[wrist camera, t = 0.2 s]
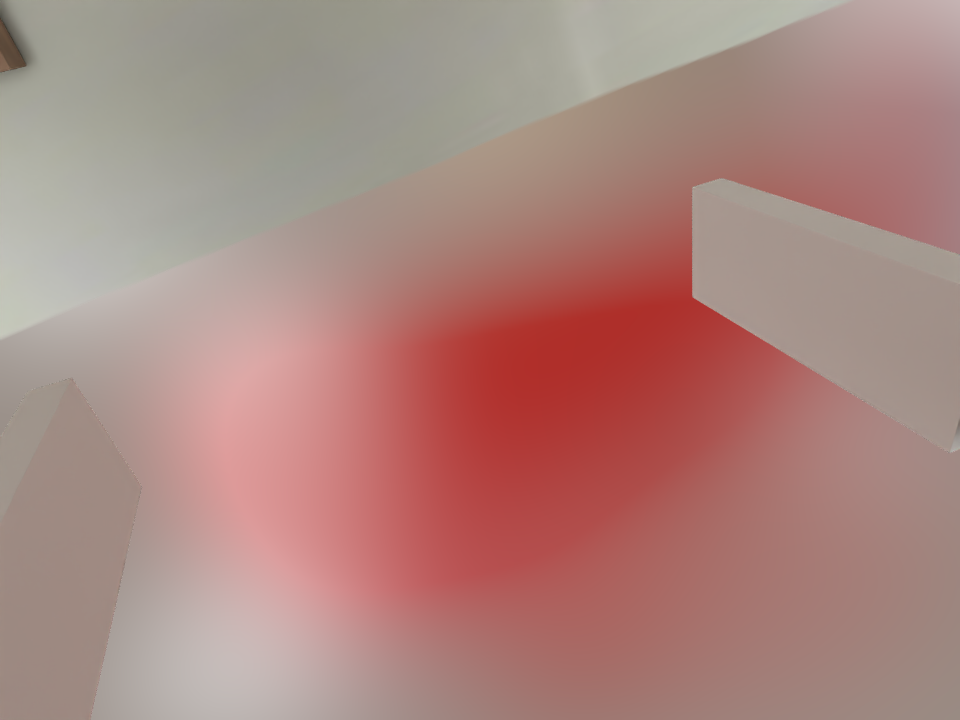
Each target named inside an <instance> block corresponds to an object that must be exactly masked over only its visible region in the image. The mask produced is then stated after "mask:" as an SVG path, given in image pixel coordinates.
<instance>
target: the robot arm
mask: <svg viewBox="0 0 960 720" xmlns="http://www.w3.org/2000/svg"><path fill="white" fill-rule="evenodd" d="M692 248H693V249H692V250H693V251H692V253H693V255H692V267H693V268H692V269H693V270H692V276H693V280H692V282H693V283H692V284H693V298H695V299H697V300H698V301H700V302H702V303H703V304H705V305H706V306H708V307H710V308H711V309H713V310H715V311H716V312H718V313H720V314H721V315H723V316H725V317H726V318H728V319H729V320H731V321H733V322H735V323H736V324H738V325H739V326H741V327H743V328H744V329H746V330H748V331H749V332H751V333H753V334H754V335H756V336H757V337H759V338H761V339H762V340H764V341H766V342H767V343H769V344H771V345H772V346H774V347H776V348H777V349H779V350H780V351H782V352H784V353H786V354H787V355H789V356H790V357H792V358H794V359H795V360H797V361H799V362H800V363H802V364H803V365H805V366H807V367H808V368H810V369H812V370H813V371H815V372H817V373H818V374H820V375H822V376H823V377H825V378H827V379H828V380H830V381H831V382H833V383H835V384H836V385H838V386H840V387H842V388H843V389H845V390H846V391H848V392H850V393H851V394H853V395H854V396H856V397H858V398H859V399H861V400H863V401H864V402H866V403H868V404H869V405H871V406H873V407H874V408H876V409H878V410H879V411H881V412H882V413H884V414H886V415H887V416H889V417H891V418H893V419H894V420H896V421H897V422H899V423H901V424H902V425H904V426H905V427H907V428H909V429H910V430H912V431H914V432H915V433H917V434H919V435H920V436H922V437H924V438H925V439H927V440H928V441H930V442H932V443H933V444H935V445H937V446H939V447H940V448H942V449H943V450H945V451H947V452H948V453H952V452H954V451H956V450H958V449H960V254H956V253H953V252H951V251H947V250H944V249H941V248H938V247H935V246H932V245H929V244H925V243H923V242H919V241H916V240H913V239H910V238H907V237H904V236H901V235H898V234H894V233H891V232H888V231H885V230H882V229H879V228H876V227H873V226H870V225H866V224H863V223H860V222H857V221H854V220H851V219H848V218H845V217H842V216H838V215H835V214H832V213H829V212H826V211H823V210H820V209H817V208H814V207H810V206H807V205H804V204H801V203H797V202H795V201H791V200H789V199H785V198H782V197H779V196H776V195H773V194H770V193H767V192H763V191H761V190H757V189H754V188H751V187H748V186H745V185H742V184H739V183H736V182H733V181H730V180H726V179H723V178H720V179H717V180H714V181H711V182H707V183H704V184H701V185H698V186H695V187H692ZM141 489H142V486H141V484H140V483H139V481H138V480H137V478H136V476H135V475H134V473H133V472H132V470H131V469H130V467H129V466H128V464H127V463H126V461H125V459H124V458H123V456H122V455H121V453H120V452H119V450H118V449H117V447H116V445H115V444H114V442H113V441H112V439H111V438H110V436H109V434H108V433H107V432H106V430H105V428H104V427H103V425H102V424H101V422H100V421H99V419H98V417H97V416H96V414H95V413H94V411H93V410H92V408H91V407H90V405H89V403H88V402H87V401H86V399H85V397H84V396H83V394H82V393H81V391H80V389H79V388H78V386H77V385H76V383H75V382H74V380H73V379H72V378H69V379H65V380H63V381H59V382H56V383H52V384H49V385H46V386H43V387H39V388H36V389H33V390H30V391H27V393H26V394H25V396H24V398H23V400H22V401H21V403H20V405H19V406H18V408H17V410H16V411H15V413H14V415H13V416H12V418H11V420H10V421H9V423H8V425H7V426H6V428H5V430H4V431H3V433H2V435H1V437H0V720H90V718H91V714H92V709H93V705H94V700H95V696H96V691H97V686H98V683H99V678H100V673H101V669H102V664H103V660H104V656H105V651H106V646H107V642H108V638H109V633H110V629H111V624H112V619H113V615H114V610H115V606H116V602H117V596H118V593H119V588H120V583H121V579H122V575H123V570H124V565H125V560H126V556H127V552H128V547H129V543H130V538H131V534H132V530H133V525H134V521H135V516H136V511H137V507H138V502H139V498H140V494H141Z"/></svg>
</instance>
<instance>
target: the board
mask: <svg viewBox="0 0 960 720" xmlns="http://www.w3.org/2000/svg"><path fill="white" fill-rule="evenodd" d="M25 66H26V64H25V62H24V61H23V59H22V57H21V55H20V53H19V51H18V50H17V48H16V46H15V44H14V42H13V40H12V39H11V37H10V35H9V33H8V31H7V29H6V28H5V26H4V24H3V22H2V20H1V18H0V72H4V71H8V70H13V69H17V68H21V67H25Z"/></svg>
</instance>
